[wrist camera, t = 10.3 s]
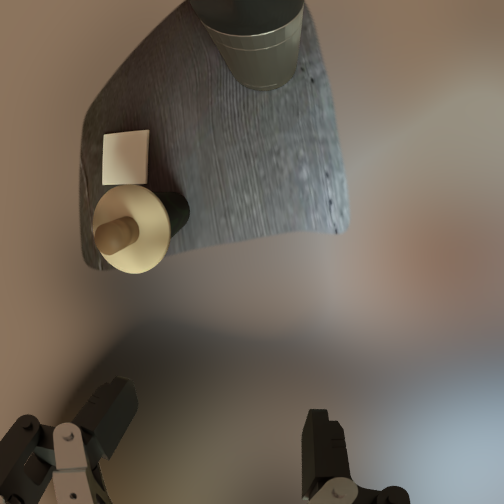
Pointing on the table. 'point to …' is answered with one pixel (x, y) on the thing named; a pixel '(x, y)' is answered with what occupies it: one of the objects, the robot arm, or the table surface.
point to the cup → (175, 209)
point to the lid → (131, 228)
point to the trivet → (126, 158)
